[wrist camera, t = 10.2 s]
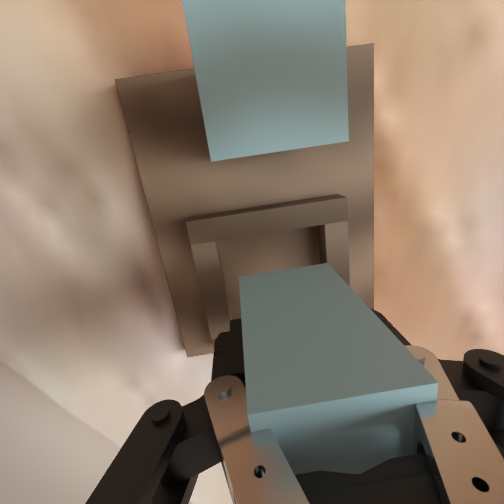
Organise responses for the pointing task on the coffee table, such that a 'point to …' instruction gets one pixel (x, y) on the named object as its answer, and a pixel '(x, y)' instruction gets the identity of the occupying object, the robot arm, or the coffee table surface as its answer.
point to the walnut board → (249, 200)
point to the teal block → (327, 372)
